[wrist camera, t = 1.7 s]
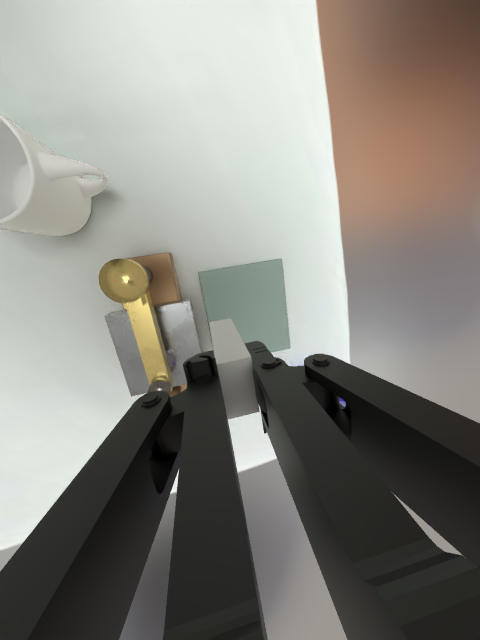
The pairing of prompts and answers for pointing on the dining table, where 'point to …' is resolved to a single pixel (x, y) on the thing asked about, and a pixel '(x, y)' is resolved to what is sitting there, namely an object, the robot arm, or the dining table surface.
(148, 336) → the lever
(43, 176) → the mug
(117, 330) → the grey knob plate
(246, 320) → the mat
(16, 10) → the dining table surface
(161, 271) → the plane body
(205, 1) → the dining table surface
